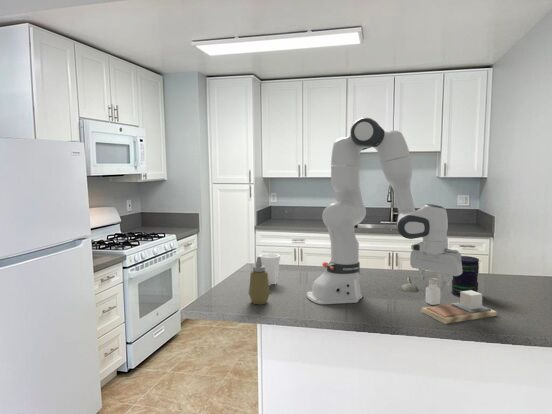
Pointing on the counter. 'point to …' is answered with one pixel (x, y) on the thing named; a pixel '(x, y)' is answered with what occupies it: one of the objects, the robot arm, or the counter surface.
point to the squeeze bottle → (259, 284)
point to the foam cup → (271, 266)
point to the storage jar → (466, 276)
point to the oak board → (457, 312)
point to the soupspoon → (409, 286)
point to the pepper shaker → (433, 292)
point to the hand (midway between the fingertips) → (435, 283)
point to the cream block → (471, 299)
